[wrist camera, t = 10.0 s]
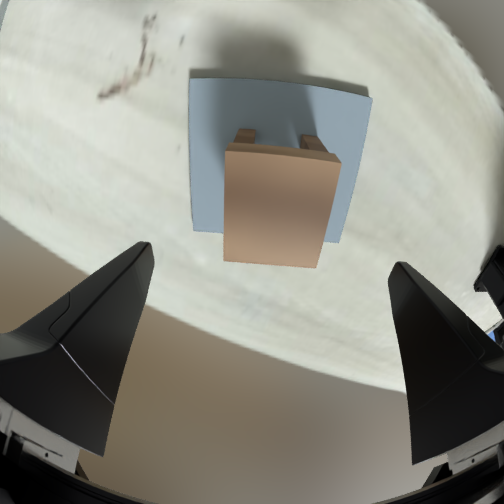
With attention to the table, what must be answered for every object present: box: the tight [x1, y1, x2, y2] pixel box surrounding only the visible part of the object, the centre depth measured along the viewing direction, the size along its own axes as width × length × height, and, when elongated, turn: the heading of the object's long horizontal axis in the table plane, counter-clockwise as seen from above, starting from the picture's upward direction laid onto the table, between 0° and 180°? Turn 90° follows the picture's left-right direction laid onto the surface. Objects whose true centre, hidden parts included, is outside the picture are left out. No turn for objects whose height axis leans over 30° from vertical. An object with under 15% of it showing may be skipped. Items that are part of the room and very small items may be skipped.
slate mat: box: [189, 78, 373, 243], centre depth 17 cm, size 11×11×1 cm
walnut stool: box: [224, 128, 342, 268], centre depth 15 cm, size 6×5×6 cm
